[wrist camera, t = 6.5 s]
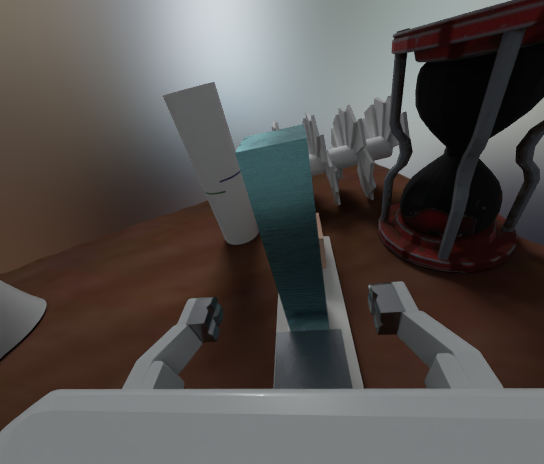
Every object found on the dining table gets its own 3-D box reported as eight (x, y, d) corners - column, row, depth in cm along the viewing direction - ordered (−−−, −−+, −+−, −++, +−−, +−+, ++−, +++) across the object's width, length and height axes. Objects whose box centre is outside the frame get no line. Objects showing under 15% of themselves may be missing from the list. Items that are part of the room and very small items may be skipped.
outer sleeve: (374, 534, 13) (381, 534, 10) (286, 525, 14) (267, 522, 11) (342, 359, 21) (341, 328, 18) (287, 360, 22) (276, 332, 19)
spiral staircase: (273, 215, 55) (378, 192, 51) (261, 228, 38) (418, 194, 34) (255, 140, 52) (365, 108, 48) (233, 117, 35) (402, 65, 31)
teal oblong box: (355, 505, 14) (360, 366, 3) (297, 501, 14) (95, 373, 3) (323, 294, 27) (301, 115, 15) (294, 296, 27) (251, 126, 16)
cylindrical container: (264, 234, 43) (219, 80, 28) (230, 249, 41) (163, 95, 27) (252, 218, 48) (209, 83, 34) (221, 231, 47) (162, 96, 32)
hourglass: (370, 260, 32) (384, 33, 17) (383, 202, 42) (398, 32, 28) (531, 287, 24) (795, -83, 10) (497, 208, 35) (599, -24, 20)
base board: (402, 565, 13) (404, 567, 12) (269, 549, 14) (265, 550, 14) (329, 241, 37) (329, 236, 36) (282, 247, 38) (280, 242, 38)
